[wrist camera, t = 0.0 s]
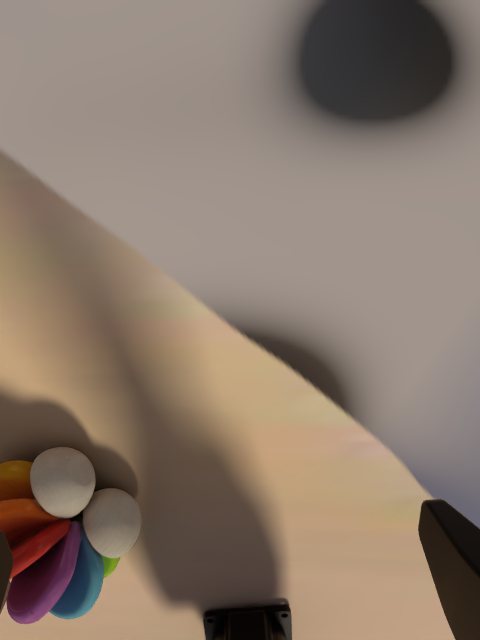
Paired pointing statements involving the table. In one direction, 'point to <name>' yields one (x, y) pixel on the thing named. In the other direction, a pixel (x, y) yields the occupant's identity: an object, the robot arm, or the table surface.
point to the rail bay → (5, 596)
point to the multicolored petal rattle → (61, 533)
